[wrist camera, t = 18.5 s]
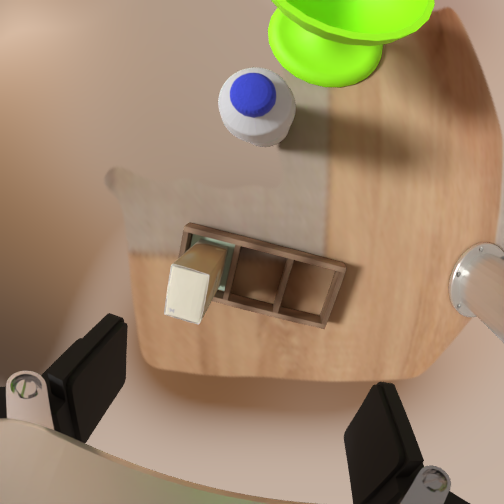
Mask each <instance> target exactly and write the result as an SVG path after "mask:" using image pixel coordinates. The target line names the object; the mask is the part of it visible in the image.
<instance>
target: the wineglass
mask: <svg viewBox="0 0 504 504" xmlns="http://www.w3.org/2000/svg"><path fill="white" fill-rule="evenodd" d="M272 2H273V3H274V4H275V5H276V6H277V7H278V8H277V9H276V11H275V12H274V14H273V15H272V17H271V20H270V24H269V28H268V36H269V44H270V46H271V49H272V51H273V54H274V56H275V57H276V58H277V60H278V61H279V62H280V63H281V65H282V66H283V67H284V68H285V69H286V70H288V71H289V72H290V73H291V74H293V75H294V76H295V77H297V78H299V79H302V80H304V81H306V82H308V83H310V84H314V85H318V86H322V87H344V86H349V85H353V84H356V83H358V82H360V81H362V80H364V79H365V78H367V77H368V76H369V75H370V74H371V73H372V72H373V71H374V70H375V69H376V67H377V65H378V63H379V61H380V59H381V56H382V49H383V44H389V43H392V42H394V41H396V40H399V39H401V38H403V37H406V36H408V35H410V34H412V33H413V32H415V31H417V30H418V29H419V28H420V27H421V26H422V25H423V24H424V23H425V22H426V21H428V19H429V17H430V15H431V12H432V10H433V7H434V0H272Z"/></svg>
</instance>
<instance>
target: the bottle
mask: <svg viewBox="0 0 504 504" xmlns="http://www.w3.org/2000/svg"><path fill="white" fill-rule="evenodd" d="M218 104H219V111H220V114H221V117H222V121H223V123H224V125H225V126H226V128H227V129H228V130H229V131H230V132H231V133H232V134H233V135H234V136H236V137H237V138H239V139H241V140H243V141H246V142H250V143H251V144H254V145H256V146H260V147H270V146H273V145H276V144H278V143H279V142H281V141H282V140H283V139H284V138H285V137H286V135H287V133H288V131H289V128H290V125H291V124H292V122H293V119H294V116H295V111H296V104H295V98H294V95H293V93H292V91H291V89H290V88H289V87H288V85H287V84H286V82H285V81H284V80H283V79H282V77H280V76H279V75H278V74H276V73H274V72H273V71H270V70H268V69H264V68H247V69H244V70H241V71H238V72H237V73H235V74H233V75H232V76H231V77H230V78H229V79H228V80H227V81H226V82H225V84H224V85H223V87H222V89H221V91H220V95H219V101H218Z"/></svg>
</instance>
